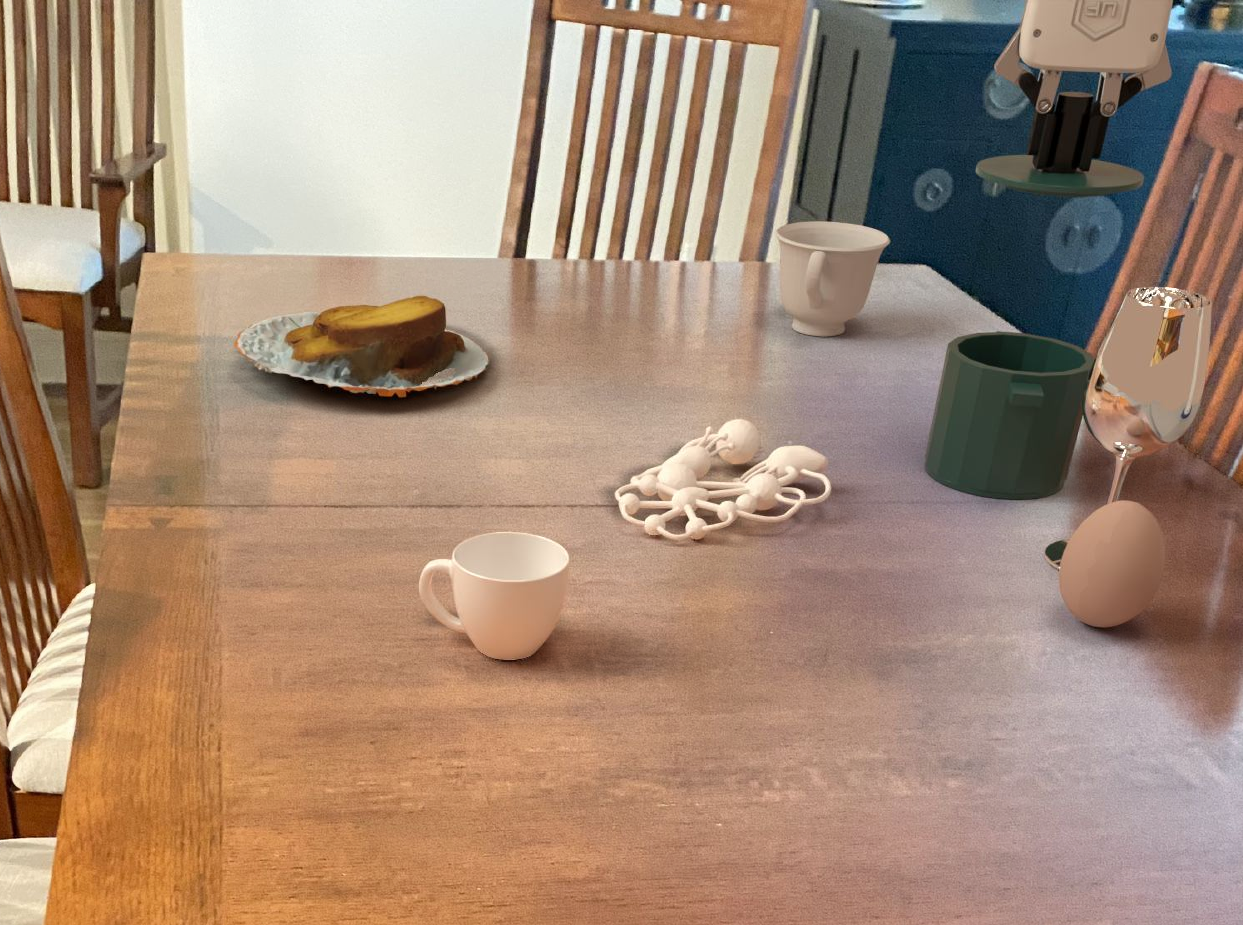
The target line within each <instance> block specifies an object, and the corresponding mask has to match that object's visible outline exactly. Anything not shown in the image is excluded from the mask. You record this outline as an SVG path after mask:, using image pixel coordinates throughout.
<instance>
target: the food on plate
mask: <svg viewBox="0 0 1243 925" xmlns="http://www.w3.org/2000/svg"><path fill="white" fill-rule="evenodd" d="M446 311H447V308H446V306H445V304H444V302H442V301H440V300H439V299H437V298H432V297H429V296H427V295H416V296H412V297H407V298H403V299H398V300H396V301H392V302H389V303H386V304H383V305H380V306H379V305H368V304H359V305H339V306H336V307H331V308H328V309H325V310H323V311H321V312H320V311H319V312H318V311H304V312H301V313H287V314H283V315H282V314H281V315H276V316H271V317H268V318H265V319H263V320H260V321H258V322H255V323H252V324H250V325H249V326H248V327H247V328H245V329H243V330H242V331H240V332H239V333H238V334H237V338H236V340H235V341H234V343H233V345H234V348H235V349H236V350H238V353H239V354H241V355H242V356H245V357H246V358H247V361H248V363H253V364H254V366H255V367H256V368H257V369H258V370H259V371H263V370H264V371H265V372H266V373H269V374H272V373H276V374H286V375H289V376H290V377H292V378H293V377H294V378H301V379H304V380H305V381H309V380H312V381H313V382H314V384H315V383H316V384H324V385H326V386H327V387H328V388H329V389H330V388H333V387H339V388H341V389H343V390H345V391H349V392H350V393H353V394H358V393H362V394H364V393H365V392H366V393H367V394H373V395H376V394H378V396H379V397H393V396H394V394H395V395H397V396H398V398H406V397H407V393H410V392H411V391H418V392H420V391H424V390H427V389H428V388H429V389H431V388H434V390H436V389H437V388H438V387H442V388H443V387H446V386H449V385H454V386H455V385H456V386H458V385H459V384H460V383H462V382H464V381H471V380H472V379H473V378H475V379H477V378H478V375H479V374H481V373H482V372H484V371H486V370H487V368H486V366H487V365H488V364H490V358H489V356H488V355H489V352H488V351H486V350H485V351H484V350H483V348H482V347H481V345H478V343H476V342H474V340H473V339H470V338H468V337H466V336H464V335H462V334H460V333H458V332H457V331H455V330H454V331H453V330H450V329H446V327H447V312H446ZM449 368H455V372H456V373H455V374H454V375H453V378H452V379H446V380H442V381H441V382H440V381H439V382H438V383H433V384H428V385H422V386H420V385H421V384H422V382H426V381H427V380H428V378H429V377H433V376H434V375H435V374H436V373H438V372H442V371H443V370H445V369H449Z"/></svg>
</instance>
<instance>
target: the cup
mask: <svg viewBox="0 0 1243 925" xmlns="http://www.w3.org/2000/svg"><path fill="white" fill-rule="evenodd" d="M570 564H571V558H570V554H569V552H568V551H567V550H566V548H565V547H564V546H562V544H560V543H558V542H557V541H554V540H553V539H550V538H548V537H544V536H541V535H537V534H534V533H527V532H520V531H519V532H517V531H496V532H488V533H483V534H478V535H474V536H471V537H468V538H467V539H464V540H463V541H461V542H460V543H458V544H457V545H456V546H455V547H454V549H453V550H452V553H451V558H436V559H433V560H431V561H428V562H427V563H426V564H425V565H424V567H423V569H422V571H421V572H420V577H419V581H418V593H419V597H420V599H421V601H422V603H423V605H424V606H425V608H426V609H427V610H428V612H429V614H431V615H432V616H433V617H434V618H435V619H436V620H437V621H438V622H439V623H441V624H442V625H444V626H445V627H447V628H448V629H450V630H452V631H454V632H460V633H464V634H466V635H467V637H468V638H469V640H470V641H471V643H472V644H473V645H474V647H475V648H476V650H478V652H479V651H480V652H481V653H480V652H479V653H480V654H482V653H483V654H485V655H487V656H490V657H493V658H498V659H520V658H524V657H527V656H529V655H531V654H533V655H534V654H535V653H536V652H537V651H539V650H540V648H541V647H542V646H543V645H544V643H545V642H546V641H547V640H548V638H549V637H550V635H552V632H553V630H554V629H555V627H556V625H557V624H558V621H559V619H560V617H561V615H562V613H563V609H564V606H565V602H566V598H567V594H568V588H569V579H570V578H569V577H570ZM437 573H440V574H441V573H442V574H446V575H448V576H449V578H450V582H451V588H452V596H453V597H452V598H453V601H454V602H453V603H454V606H455V611H456V613H457V616H458V617H457V616H455V615H453V614H452V613H450V611H449V610H447V609H446V608H445V607H444V606H443V605H442V603H441V602H440V601H439V599H438V598H437V597H436V595H435V593H434V590H433V586H432V585H433V578H434V575H435V574H437ZM483 654H482V655H483ZM485 655H484V656H485Z"/></svg>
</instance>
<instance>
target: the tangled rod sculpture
mask: <svg viewBox="0 0 1243 925" xmlns="http://www.w3.org/2000/svg"><path fill="white" fill-rule="evenodd" d="M760 435H761V434H760V432H759V430H758V428H757V427H756V425H754V424H753V423H752V422H751V421H749V420H746V419H744V418H743V419H742V418H737V419H731V420H729V421H727V422H725V423H724V424H723V425H722V426H721V427H720V428H719V429H718V432H717V433H714V428H713V426H707V427H706V428H705V434H704V436H700V437H698V438H695V439H691V440H690V441H689V442H687V443H685V444H683V446H682V447H680V449H679V451H677V453H676V454H674V455H672V456H671V457H669V458H668V459H666V460H665V461H664V462H663V463H662V464H660V465H657V466H655V467H651V468H648V469H646V470H645V471H644V472H642V473H640V474H636V475H633V476H632V477H631V479H630V483H628V484H625V485H622V486H620V487H619V488H618V489H616V490H615V492H614V498H615V500H616V501H617V502H618V508H619V511H620V514H621V516H622V517H623V519H624V520H625V521H627V522H629V523H630V524H633V525H635V526H639V527H643V529H644V532H645V533H646V534H647V533H648V534H649V535H648V534H647V535H648V536H650V535H658V536H660V535H662V536H664V538H667V539H670V540H674V541H681V540H682V541H683V540H686V539H689V538H690V539H691V540H694V539H695V540H696V541H697V540H701V539H704V537H705V536H706V535H707V533H708V532H710V531H716V530H720V529H723V528H726V527H729V526H730V525H731V524H732V523H733V522H734V521H736V520H737V518H738V517H740V518H743V519H746V520H750V521H755V522H759V523H781V522H784V521H786V520H788V519H790V518H791V517H792V516H793V515H795V514H796V513H797V512H798V511H799V510H800V508H802V507H803V506H810V505H816V504H820V503H822V502H825V500H827V499H828V498H829V496H830V495H831V493H832V484H831V483H832V482H831V481H830V480H829V478H828V477H827V476H826V475H825V474H823V472H824V471H826V470H827V469H828V466H829V460H828V458H827V457H826V456H825V455H823V454H821V453H820V452H818V451H816V450H814V449H812V448H810V447H809V446H805V445H798V444H797V445H783V446H780V447H777V448H775V449H774V450H773V451H772V452H771V453H770V455H769V456H768V457H767V458H766V459H765V460H763V461H761V462H759V463H756V465H754V466H752V467H751V468H749V469H748V470H747V471H746V472H744V473H743V474H742V475H741V476H740V477H734V478H733V479H732V482H731V481H710V480H709V481H707V480H706V481H705V480H698V479H701V478H702V477H704V476H705V475H707V473H709V471H710V469H711V466H712V462H713V460H712V458H713V457H714V456H715V455H719V457H720V458H721V459H723V460H724V461H725V462H727V463H728V464H732V465H742V464H745V463H747V462H750V461H751V460H752V459H753V458H754V457H755V456H756V455H757V454H758V451H759V449H760V444H761V436H760ZM705 445H706V446H705ZM714 445H715V450H713V451H711V452H710V451H709V450H710V449H711V448H712V447H713V446H714ZM808 477H809V478H811V479H816V480H820V481H822V482H823V484H824V487H825V488H824V489H825V491H824V492H823V494H821V495H820V496H818V497H815V498H807V495H806V493H805V492H804V490H802V489H801V488H800V489H799V488H797V487H790V485H792V484H795V483H797V482H800V481H801V480H803V479H805V478H808ZM788 486H789V487H788ZM634 489H638V490H639V491H640V492H641V494H643V495H644V496H645V497H652V496H655V495H656V494H657V495H658V497H659V498H660V499H661V500H640V499H639V497H638V495H636V494H635V493H631V492H627V493H625V494H623V495H621V494H622V493H624V492H626V491H629V490H634ZM708 489H713V490H708ZM715 489H716V490H715ZM782 494H793V495H797V496H799V499H792V498H788V497H785V496H783V495H782ZM736 496H738V497H737V499H736V500H735V501H732V500H725V501H722V502H721V503H720V504H718V503H714V502H710V501H708V500H709V499H717V498H725V497H726V498H727V497H736ZM778 503H782V504H785V505H787V506H792V507H791V508H790V509H789V510H788V511H786V512H785V513H784V514H782V515H777V516H764V515H759V514H754V513H755V511H756V510H757V511H768V510H771V509H772V508H774V507H775V506H776V505H777V504H778ZM698 508H699V509H703V510H707V511H711V512H713V513H714V512H715V513H716V515H717V517H718V519H719V520H720V521H721V522H719V523H714V524H708V523H707V522H706V521H705V520H704V519H703V518H701V517H697V515H696V512H695V511H696V510H697V509H698ZM640 509H670V510H668V511H666V512H664V513H662V514H657V513H656V514H650V515H649V516H647V517H646V518H645V519H644V520H641V519H637V518H635V517H632V515H634V514H636V513H637V512H639V510H640ZM630 515H631V516H630ZM677 516H681V517H685V516H687V518H688V521H687V522H686V524H685V533H682V534H674V533H671V532H669V531H667V530H665V529H666V524H667V523H666V522H668V521H670V520H672V519H673V518H676V517H677ZM695 540H694V541H695Z"/></svg>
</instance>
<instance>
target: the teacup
mask: <svg viewBox="0 0 1243 925" xmlns="http://www.w3.org/2000/svg"><path fill="white" fill-rule="evenodd" d="M774 236H775V237H776V240H778V244H779V259H780V260H779V263H780V265H779V296H780V302H781V305H782V307H783V309H784V310H785V311H786V312H787V314H789V315H790V316H792V317H793V321H792V323H791V328H792V330H793V331H794V332H797V333H799V334H803V335H807V336H813V337H820V338H821V337H835V336H836V337H837V336H840V335H842V334H843V333H844V332H845V331H846V326H845V324H846V322H847V321H850V320H852V319H854V318H855V317H856V316H858V315H859V314H860V313H861V311H862V310H863V309H864V306H865V305H866V302H867V299H868V297H869V293H870V291H871V287H872V285H873V284H872V283H873V280H874V277H875V273H876V270H877V266H878V263H879V261H880V257H881V255H882V253H883V251H884V249H885V248H887V246H889V244H890V243H891V239H890V238H889V236H888V235H887V234H886V233H884V232H883V231H881V230H878V229H875V228H874V227H873V228H872V227H869V226H866V225H865V226H864V225H860V224H853V223H847V222H838V221H819V220H817V221H815V220H814V221H799V222H793V223H788V224H785V225H782V226H780V227H778V228H777V229H776V230H775V231H774Z"/></svg>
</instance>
